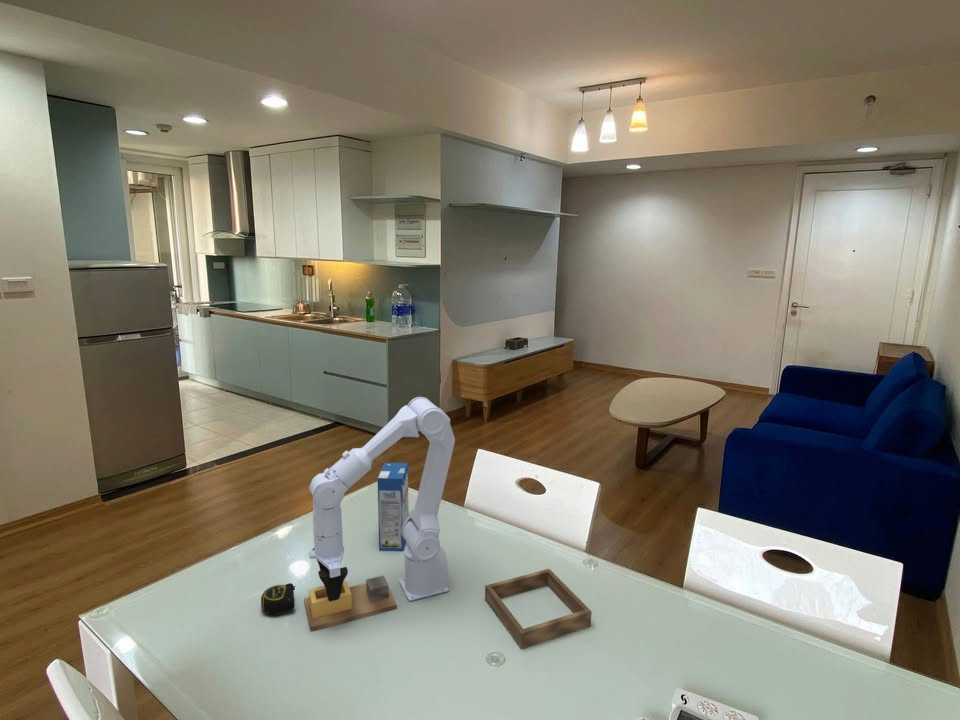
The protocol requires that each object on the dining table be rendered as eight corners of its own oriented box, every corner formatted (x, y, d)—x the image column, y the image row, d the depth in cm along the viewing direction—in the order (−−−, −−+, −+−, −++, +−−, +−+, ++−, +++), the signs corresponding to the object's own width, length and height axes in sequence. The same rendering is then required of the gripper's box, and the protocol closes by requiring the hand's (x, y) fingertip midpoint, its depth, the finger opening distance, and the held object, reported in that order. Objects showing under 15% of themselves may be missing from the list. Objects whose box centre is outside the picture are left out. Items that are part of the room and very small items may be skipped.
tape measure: (295, 615, 114) (294, 599, 113) (260, 621, 112) (259, 605, 111) (295, 595, 121) (294, 580, 120) (262, 600, 119) (261, 585, 118)
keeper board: (385, 582, 125) (384, 563, 124) (397, 608, 116) (396, 587, 115) (304, 602, 118) (303, 581, 117) (310, 631, 109) (309, 609, 108)
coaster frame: (548, 582, 127) (549, 568, 126) (590, 626, 112) (591, 611, 111) (485, 599, 120) (485, 585, 119) (520, 649, 105) (521, 633, 105)
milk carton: (403, 551, 138) (402, 478, 134) (379, 550, 138) (377, 478, 134) (408, 531, 148) (407, 463, 144) (386, 530, 148) (384, 462, 144)
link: (347, 594, 119) (346, 580, 118) (351, 608, 115) (351, 593, 114) (309, 604, 116) (308, 589, 115) (312, 618, 111) (312, 603, 111)
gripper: (303, 518, 117) (306, 574, 119) (312, 552, 104) (316, 614, 106) (336, 512, 119) (339, 567, 122) (349, 544, 107) (352, 605, 109)
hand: (330, 589), depth 115 cm, fingers open, 7 cm apart
